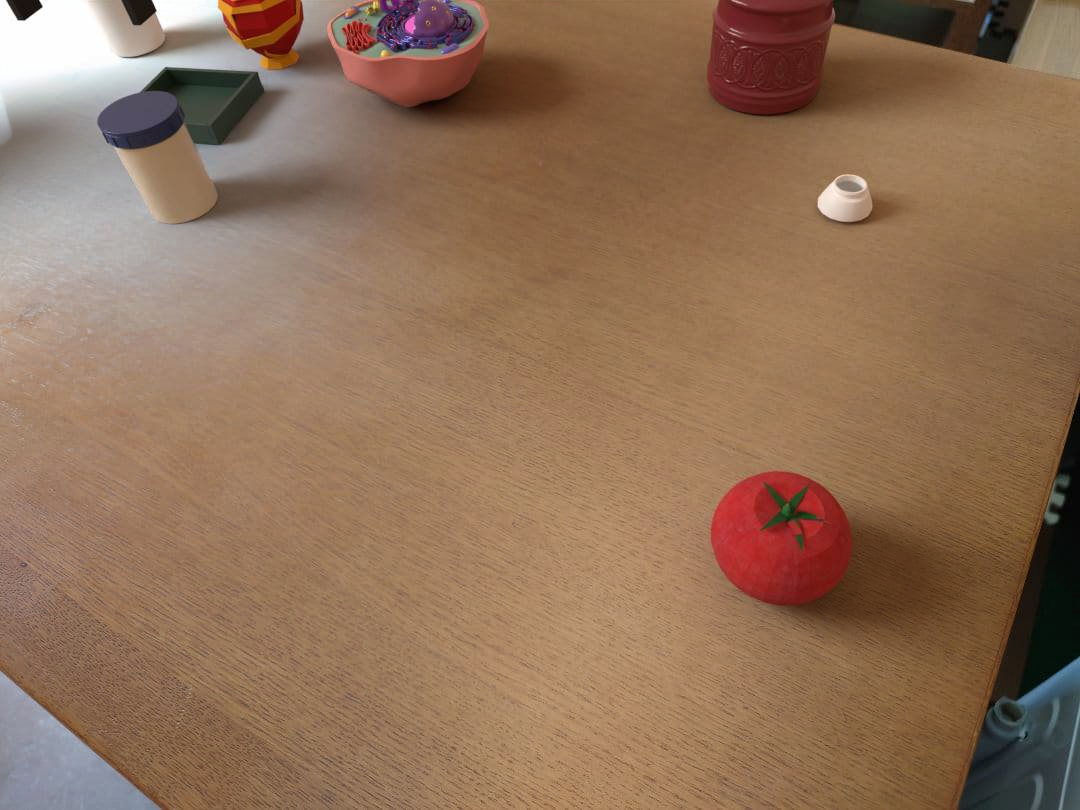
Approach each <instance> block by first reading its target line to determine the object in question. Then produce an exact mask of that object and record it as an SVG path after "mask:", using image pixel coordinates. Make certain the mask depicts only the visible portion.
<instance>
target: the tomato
mask: <svg viewBox="0 0 1080 810" xmlns="http://www.w3.org/2000/svg"><path fill="white" fill-rule="evenodd" d="M710 524H711V525H710V530H709V531H710V542H711V547H712V550H713V554H714V557H715V560H716V562H717V564H718V566H719V568H720V570H721V572H722V573H723V574H724V576H725V577H726V579H727V580H728V581H729V582H730V583H731V584H732V585H733V586H735V587H736V589H738V590H739V591H741V592H742V593H744V594H745V595H747V596H749V597H750V598H753V599H755V600H757V601H760V602H762V603H766V604H769V605H773V606H783V607H784V606H787V607H790V606H798V605H804V604H806V603H810V602H813V601H815V600H817V599H818V598H820V597H822V596H823V595H825V594H827V593H828V592H830V591H831V590H833V589H834V588H835V587H836V586H837V585H838V584H839V583H840V582H841V580H842V579H843V577H844V576H845V574H846V572H847V570H848V568H849V564H850V561H851V558H852V553H853V538H852V530H851V525H850V524H851V523H850V522H849V518H848V517H847V514H846V512H845V510H844V509H843V507H842V506H841V504H840V503H839V501H838V500H837V498H836V497H835V496H834V495H833V494H832V493H831V492H830V491H829V490H828V489H827V488H825V487H824V486H823V485H822V484H820V483H819V482H817V481H815V480H813V479H811V478H810V477H807V476H805V475H802V474H800V473H795V472H791V471H781V470H773V471H764V472H760V473H757V474H754V475H751V476H748V477H746V478H744V479H743V480H740V481H738V482H737V483H736V484H735V485H734V486H732V487H731V488H730V489H729V490H728V491H727V492H726V493H725V495H724V496H723V497H722V498H721V500H720V501H719V502H718V504H717V506H716V508H715V511H714V512H713V516H712V519H711V523H710Z"/></svg>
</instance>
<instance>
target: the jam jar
mask: <svg viewBox="0 0 1080 810" xmlns="http://www.w3.org/2000/svg"><path fill="white" fill-rule="evenodd" d="M112 147H113V148H114V150H115V152H116V154H117V156H118V158H119V159H120V161H121V163H122V165H123V166H124V168H125V170H126V172H127V174H128V176H129V177H130V179H131V180H132V183H133V184H134V186H135V188H136V189H137V192H138V193H139V195H140V197H141V198H142V200H143V202H144V203H145V205H146V207H147V209H148V211H149V212H150V214H151V216H152V218H153V219H154V220H156V221H157V222H160V223H163V224H168V225H169V224H170V225H173V224H174V225H176V224H183V223H187V222H190V221H193V220H196V219H197V218H200V217H202V216H203V215H205V214H207V213H208V212H210V210H211V209H213V207H214V206H215V205H216V204H217V201H218V198H219V196H218V195H219V194H218V190H217V188H216V187H215V185H214V182H213V181H212V178H211V176H210V174H209V172H208V169H207V167H206V165H205V163H204V161H203V159H202V157H201V155H200V153H199V151H198V149H197V146H196V143H194V142H193V140H192V138H191V136H190V133H189V131H188V129H187V127H186V125H185V123H183V125H182V127H181V128H180V129H179V130H178V131H177V132H176V133H175V134H173V135H172V136H170V137H169V138H167V139H165V140H164V141H161V142H159V143H156V144H154V145H151V146H147V147H142V148H136V149H122V148H117V147H114V146H112Z"/></svg>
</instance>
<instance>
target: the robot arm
mask: <svg viewBox="0 0 1080 810" xmlns="http://www.w3.org/2000/svg"><path fill="white" fill-rule="evenodd" d="M121 1H122V3H123V5H124V7H125V9H126V11H127V13H128V15H129V17H130V20H131V22H132V24H133V25H140V26H141V25H142V24H143V23H144V22H145V21H146V20H148V19H149V18H150V17H151V16H152V15H153V14H154V13H157V12H158V10H157V8H156V6H155V3H154V2H153V1H154V0H121ZM5 2H6V3H7V5H8V6H9V8H10V10H11V11H12V13H13V15H14V17H15V19H16V20H17V21H19V22H20V21H22V22H24V21H26V20H28V19H30V18H31V17H32V16H33V15H35V14H36V13H37V12H38V11H40V10H41V9H42V8H44V7H43V4H42V1H41V0H5Z"/></svg>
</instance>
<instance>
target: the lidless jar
mask: <svg viewBox="0 0 1080 810" xmlns="http://www.w3.org/2000/svg"><path fill="white" fill-rule="evenodd" d="M817 208H818V210H819V211H820V213H821V214H822V215H824V216H825V217H826V218H828V219H831V220H833V221H837V222H844V223H853V222H858V221H862V220H864V219H865V218H867V217H869V216H870V214H871V212H873V211H872V210H873V208H874V207H873V200H872V196H871V193H870V189H869V188H868V183H867V181H866V180H865V179H864V178H862V176H860V175H857V174H850V173H849V174H841V175H839V176H837V177H835V179H834V180H833V181H832V182H831V183H830V184H828V186H827V187H826V188H825V189H824V190H823V191H822V192H821V193H820V195H819V196H818V197H817Z"/></svg>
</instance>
